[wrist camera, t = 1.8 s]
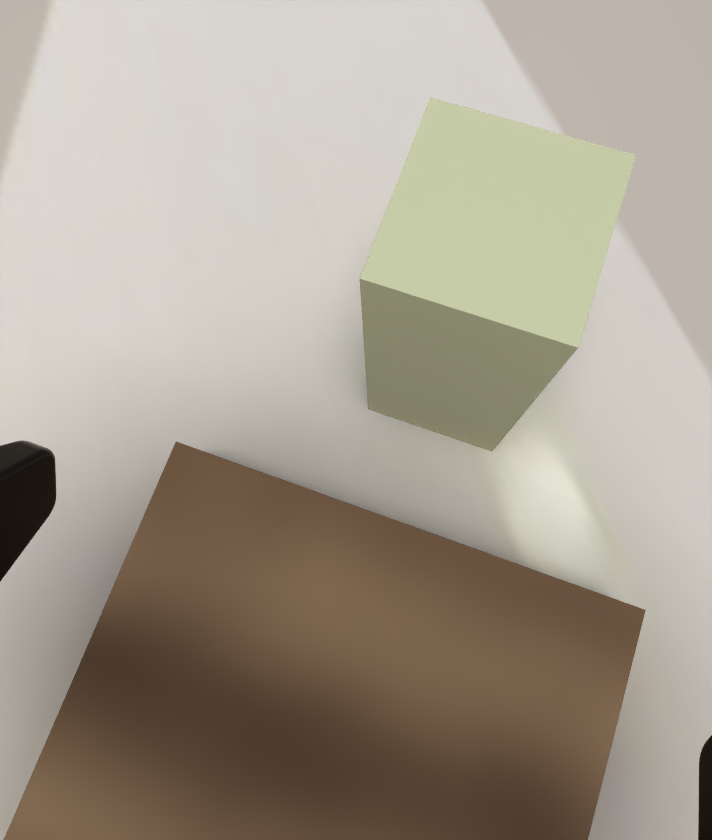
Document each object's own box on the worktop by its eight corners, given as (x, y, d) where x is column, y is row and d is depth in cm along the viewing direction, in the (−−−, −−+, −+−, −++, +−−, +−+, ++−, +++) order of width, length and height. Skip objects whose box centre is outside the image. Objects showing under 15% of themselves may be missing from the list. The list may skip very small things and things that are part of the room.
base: (474, 1113, 18) (492, 1216, 15) (15, 903, 20) (-49, 959, 17) (608, 606, 21) (645, 610, 18) (202, 460, 23) (176, 441, 20)
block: (492, 451, 22) (578, 347, 13) (368, 409, 23) (359, 278, 13) (529, 334, 23) (636, 155, 14) (410, 297, 24) (430, 97, 14)
